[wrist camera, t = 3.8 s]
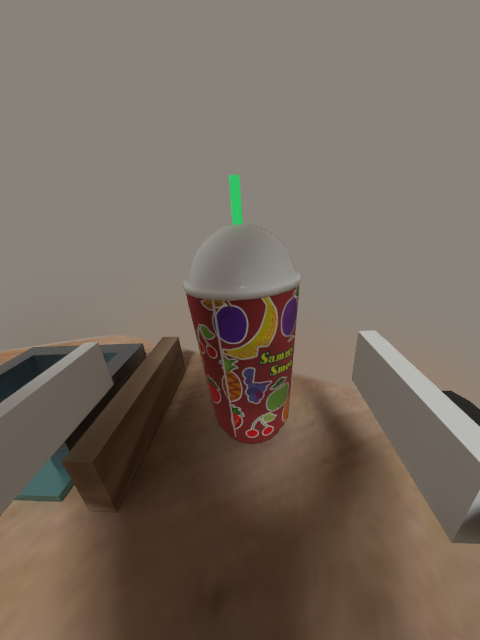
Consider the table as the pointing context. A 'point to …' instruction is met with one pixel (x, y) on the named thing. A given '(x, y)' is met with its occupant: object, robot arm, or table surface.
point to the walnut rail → (125, 429)
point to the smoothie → (245, 324)
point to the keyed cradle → (53, 475)
